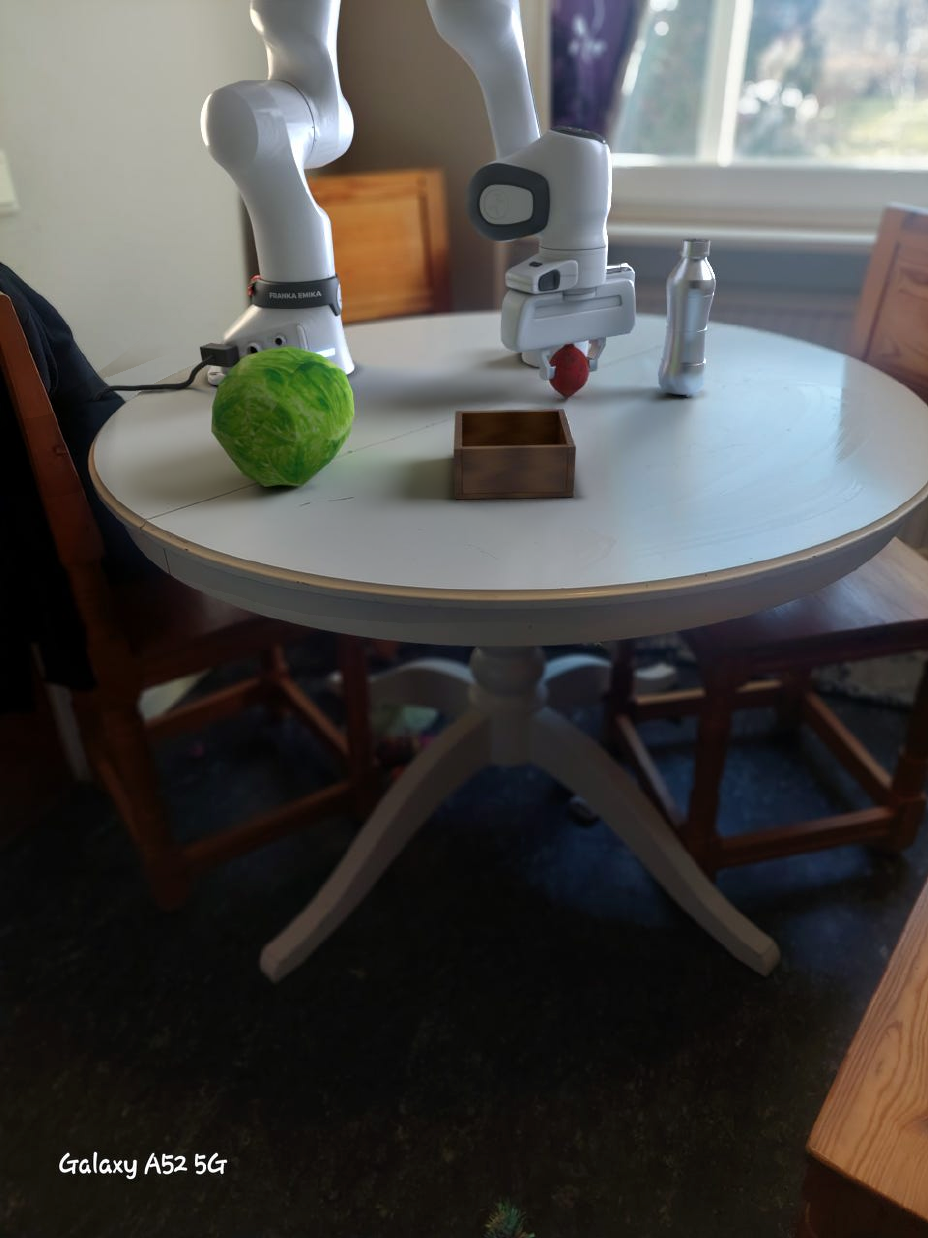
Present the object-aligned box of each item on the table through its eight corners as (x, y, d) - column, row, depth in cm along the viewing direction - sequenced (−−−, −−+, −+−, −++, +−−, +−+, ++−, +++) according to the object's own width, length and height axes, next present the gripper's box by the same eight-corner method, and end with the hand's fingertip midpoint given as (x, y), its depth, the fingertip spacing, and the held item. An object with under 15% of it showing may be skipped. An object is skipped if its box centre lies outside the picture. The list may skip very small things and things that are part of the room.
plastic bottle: (677, 402, 119) (693, 245, 109) (646, 390, 124) (659, 239, 114) (713, 395, 122) (733, 240, 111) (682, 383, 127) (698, 235, 117)
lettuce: (256, 452, 113) (370, 471, 112) (181, 480, 92) (321, 504, 90) (263, 334, 108) (383, 353, 107) (186, 335, 87) (334, 359, 86)
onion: (586, 404, 120) (589, 345, 115) (544, 402, 121) (545, 344, 116) (589, 391, 124) (592, 334, 120) (549, 390, 125) (550, 333, 121)
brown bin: (455, 499, 93) (453, 449, 90) (456, 457, 103) (455, 410, 100) (573, 497, 92) (576, 446, 89) (562, 455, 103) (564, 408, 100)
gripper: (620, 257, 120) (613, 358, 128) (494, 273, 112) (494, 381, 119) (650, 263, 116) (641, 368, 123) (520, 281, 107) (519, 392, 114)
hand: (568, 374), depth 121 cm, fingers closed on onion, 6 cm apart
